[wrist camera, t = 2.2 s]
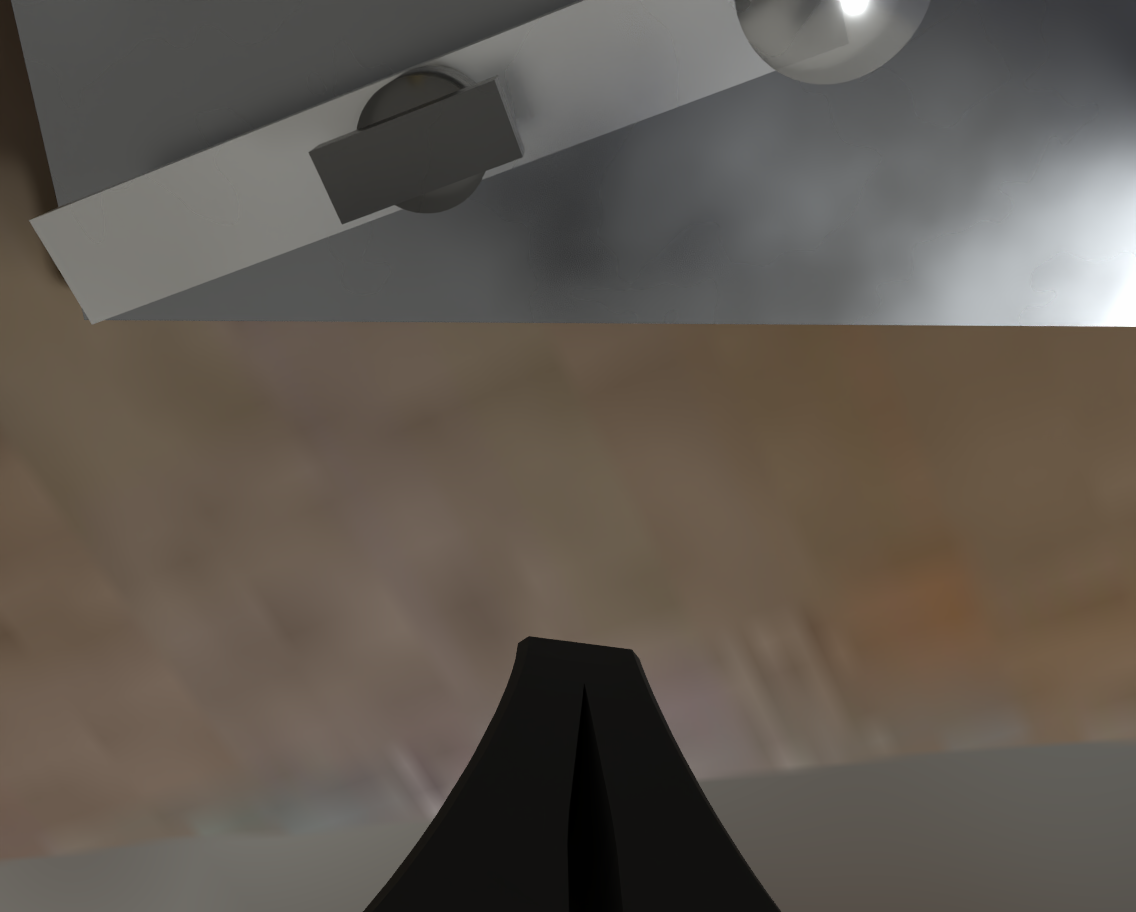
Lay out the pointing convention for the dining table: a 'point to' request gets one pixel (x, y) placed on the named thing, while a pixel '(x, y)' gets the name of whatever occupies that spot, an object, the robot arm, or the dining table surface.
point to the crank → (446, 132)
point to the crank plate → (650, 171)
